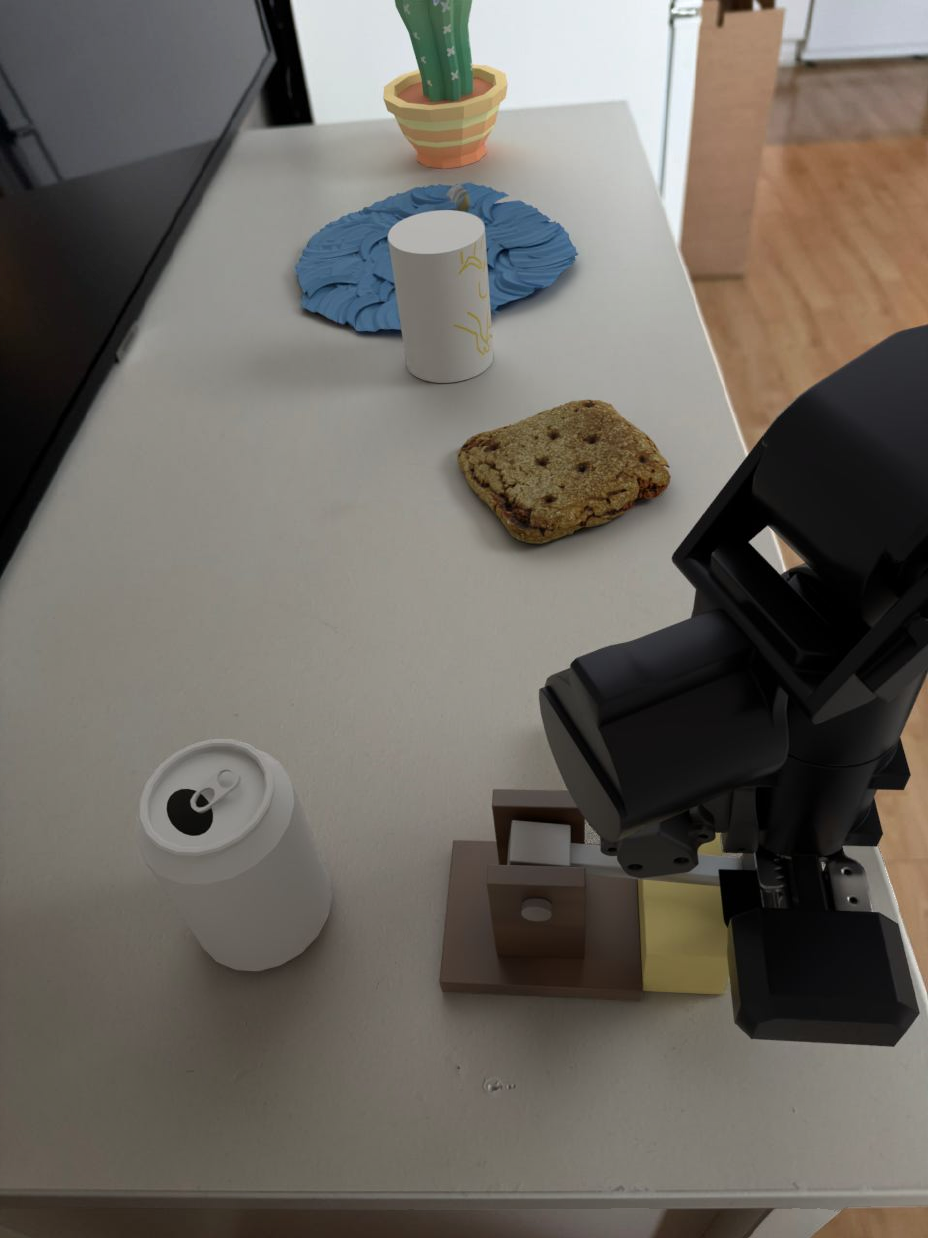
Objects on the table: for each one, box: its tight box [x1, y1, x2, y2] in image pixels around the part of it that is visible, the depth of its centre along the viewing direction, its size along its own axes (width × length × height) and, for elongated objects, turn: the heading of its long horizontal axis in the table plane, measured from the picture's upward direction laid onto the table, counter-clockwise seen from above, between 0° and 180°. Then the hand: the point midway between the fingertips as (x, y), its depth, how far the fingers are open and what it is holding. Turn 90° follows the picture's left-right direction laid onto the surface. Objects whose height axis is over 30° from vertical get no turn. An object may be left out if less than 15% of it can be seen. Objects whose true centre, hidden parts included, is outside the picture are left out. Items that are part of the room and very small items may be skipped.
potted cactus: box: [382, 0, 509, 170], centre depth 111 cm, size 15×15×25 cm
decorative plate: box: [294, 182, 579, 333], centre depth 99 cm, size 30×30×5 cm
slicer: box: [438, 788, 644, 1002], centre depth 47 cm, size 10×8×9 cm
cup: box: [388, 210, 495, 384], centre depth 84 cm, size 8×8×12 cm
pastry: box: [457, 399, 672, 545], centre depth 74 cm, size 17×17×3 cm
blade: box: [507, 820, 783, 886], centre depth 45 cm, size 14×3×3 cm, turn 85°
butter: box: [638, 833, 729, 996], centre depth 48 cm, size 4×7×4 cm, turn 175°
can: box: [135, 738, 333, 972], centre depth 48 cm, size 8×8×12 cm
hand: (759, 898), depth 47 cm, fingers closed on blade, 3 cm apart
